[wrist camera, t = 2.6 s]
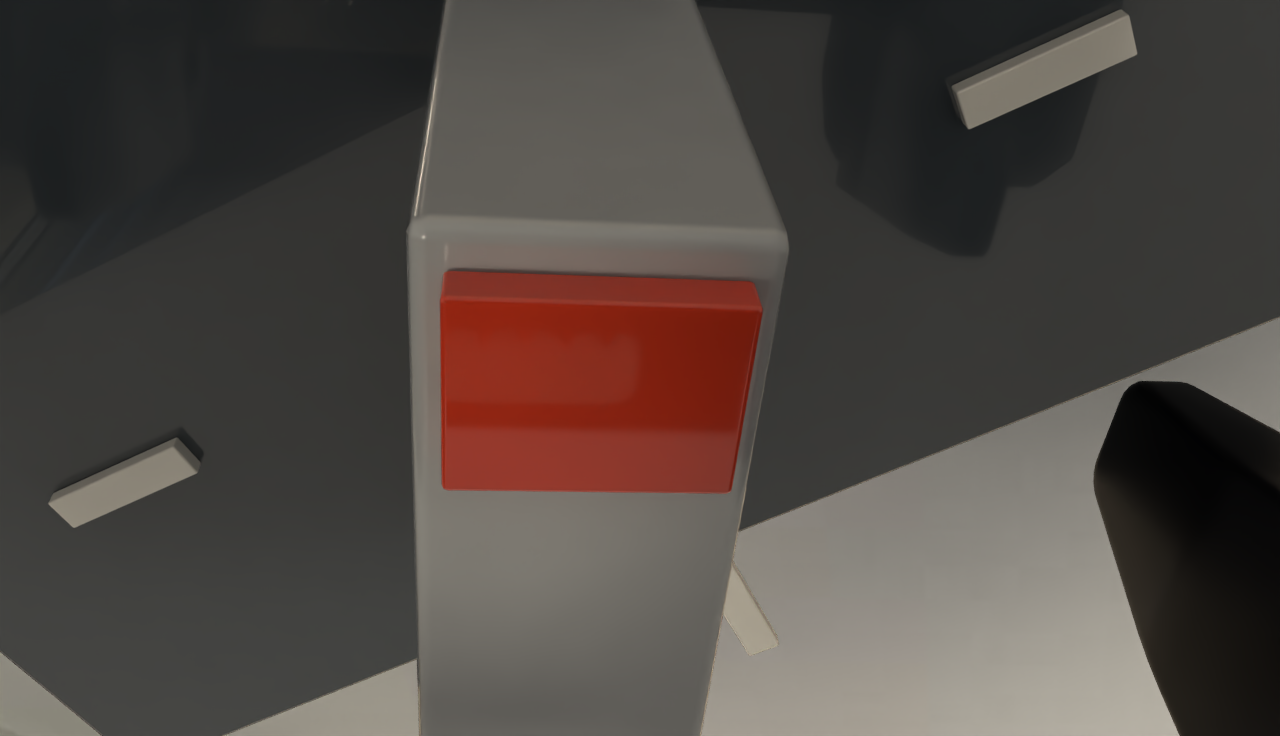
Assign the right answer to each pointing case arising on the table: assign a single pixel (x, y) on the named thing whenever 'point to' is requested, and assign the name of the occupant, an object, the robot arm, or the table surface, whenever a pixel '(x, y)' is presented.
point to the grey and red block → (581, 365)
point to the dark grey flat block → (378, 299)
